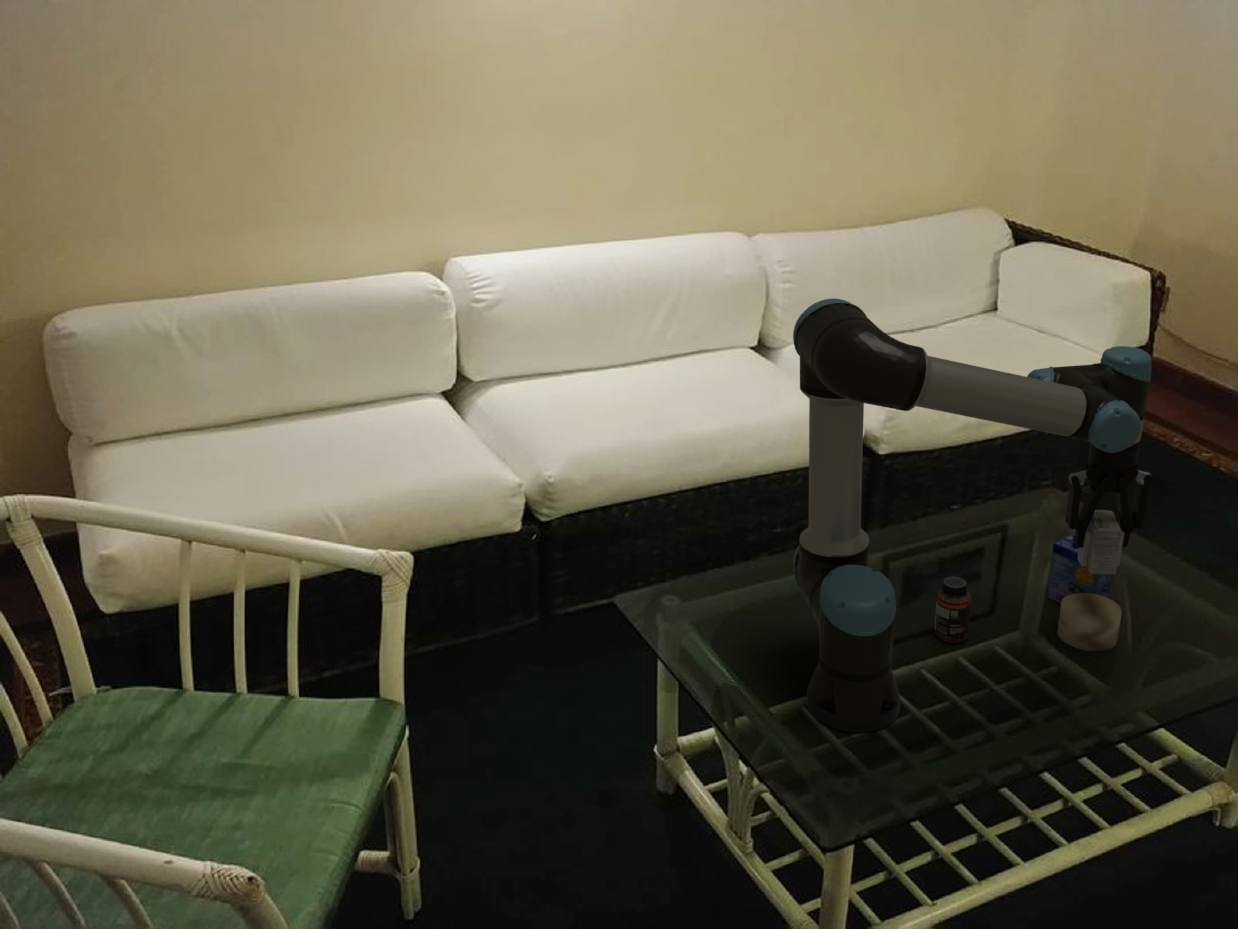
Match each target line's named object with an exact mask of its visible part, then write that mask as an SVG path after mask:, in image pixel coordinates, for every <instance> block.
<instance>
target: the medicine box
mask: <svg viewBox="0 0 1238 929" xmlns="http://www.w3.org/2000/svg"><path fill="white" fill-rule="evenodd" d="M1088 529H1089V531H1090V533H1091V537H1090V544H1089V551H1088V558H1087V567H1088V570H1089V573H1092V574H1111V575H1112V576H1113V575H1116V573H1117V567H1118V566H1117V562H1118V555H1119V548H1120V541H1121V534H1122V531H1121V529H1120V523H1119V522H1118V519H1117V517H1116V516H1115V513H1114V511H1112V510H1107V509H1106V510H1105V509H1096V510H1095V512H1094V514H1093V517H1092V519H1091V521H1090V524H1089V526H1088Z"/></svg>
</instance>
